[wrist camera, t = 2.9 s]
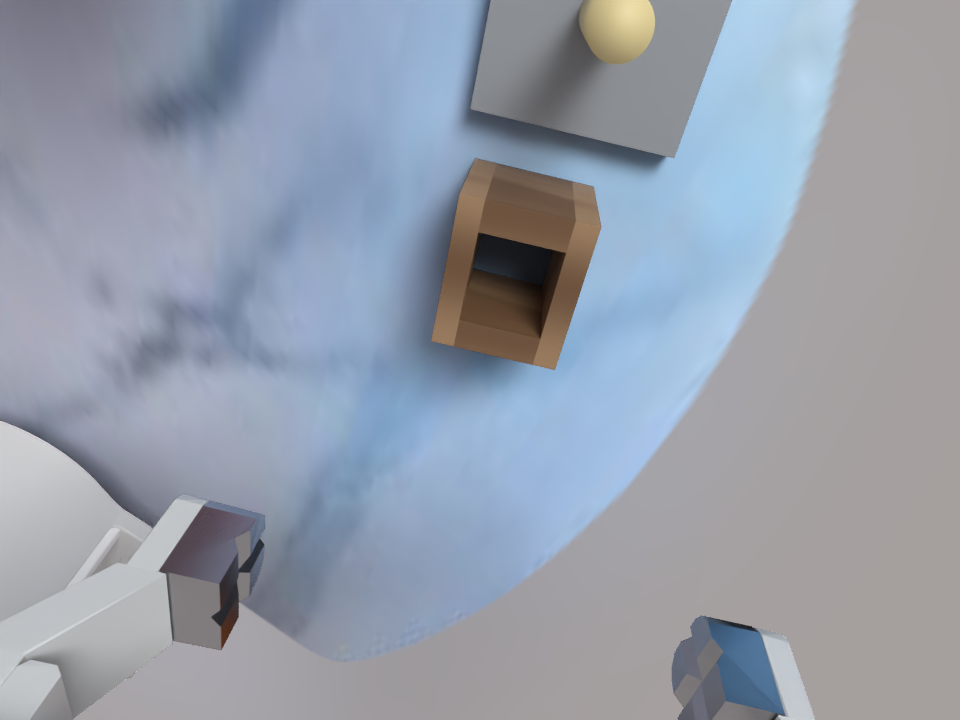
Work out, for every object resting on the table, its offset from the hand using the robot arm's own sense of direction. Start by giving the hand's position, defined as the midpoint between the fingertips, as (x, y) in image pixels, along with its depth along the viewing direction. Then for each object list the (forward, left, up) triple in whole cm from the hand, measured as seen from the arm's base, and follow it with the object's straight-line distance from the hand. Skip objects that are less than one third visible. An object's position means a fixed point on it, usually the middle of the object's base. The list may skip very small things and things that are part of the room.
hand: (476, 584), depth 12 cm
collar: (0, 0, -18) cm, 18 cm away
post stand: (+9, -1, -18) cm, 20 cm away
